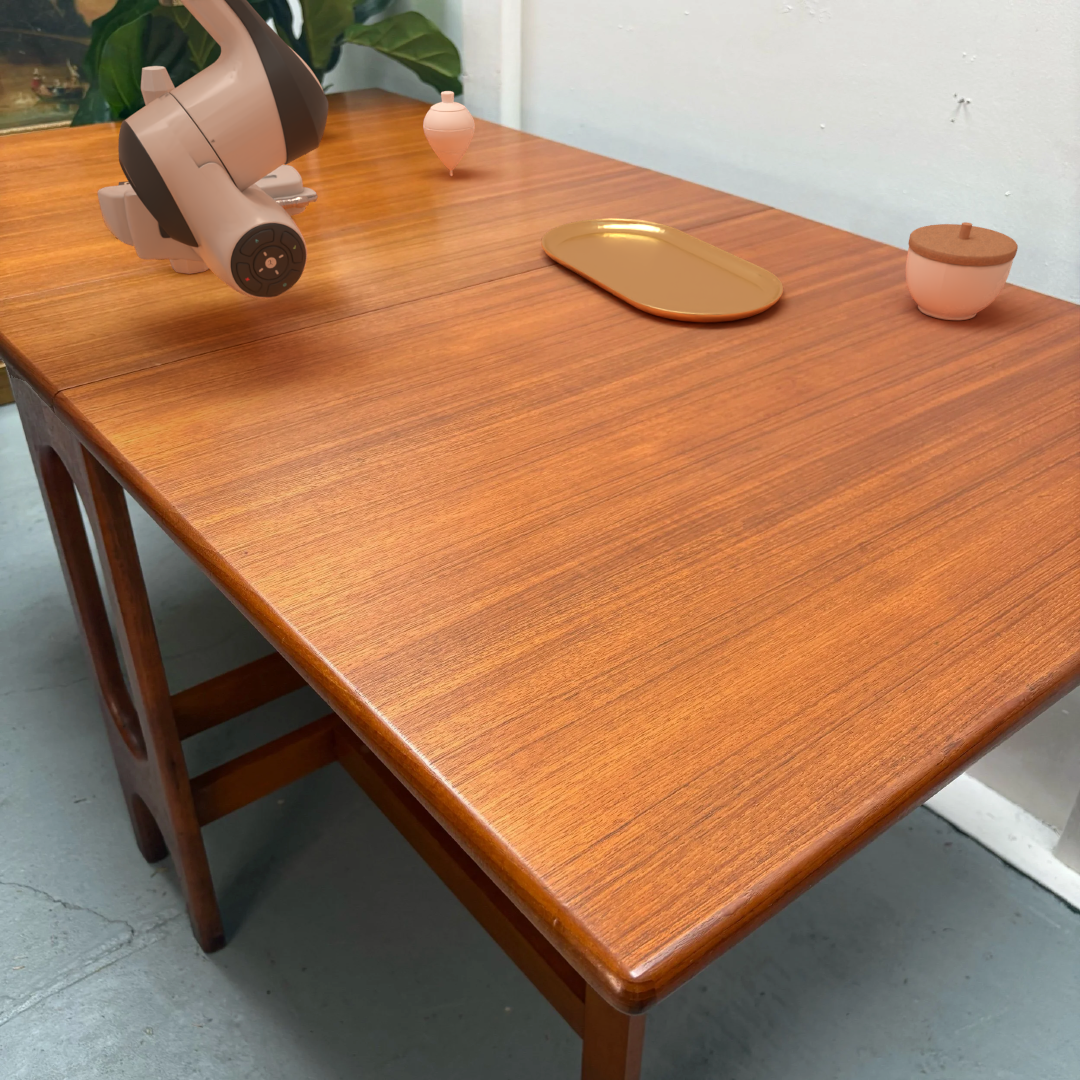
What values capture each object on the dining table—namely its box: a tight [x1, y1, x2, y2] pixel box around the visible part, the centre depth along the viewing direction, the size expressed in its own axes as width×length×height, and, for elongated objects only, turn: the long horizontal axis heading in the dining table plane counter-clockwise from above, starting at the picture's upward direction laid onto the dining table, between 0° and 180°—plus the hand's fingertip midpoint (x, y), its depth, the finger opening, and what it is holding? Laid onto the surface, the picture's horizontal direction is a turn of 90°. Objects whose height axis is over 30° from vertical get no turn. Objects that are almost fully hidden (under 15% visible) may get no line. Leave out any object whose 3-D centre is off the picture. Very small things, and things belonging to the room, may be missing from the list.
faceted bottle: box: [140, 65, 210, 275], centre depth 116 cm, size 6×6×22 cm
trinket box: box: [904, 221, 1019, 321], centre depth 108 cm, size 11×11×9 cm
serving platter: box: [540, 217, 784, 323], centre depth 120 cm, size 19×35×2 cm, turn 30°
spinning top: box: [422, 90, 476, 177], centre depth 152 cm, size 8×8×12 cm
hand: (188, 181), depth 110 cm, fingers open, 8 cm apart
